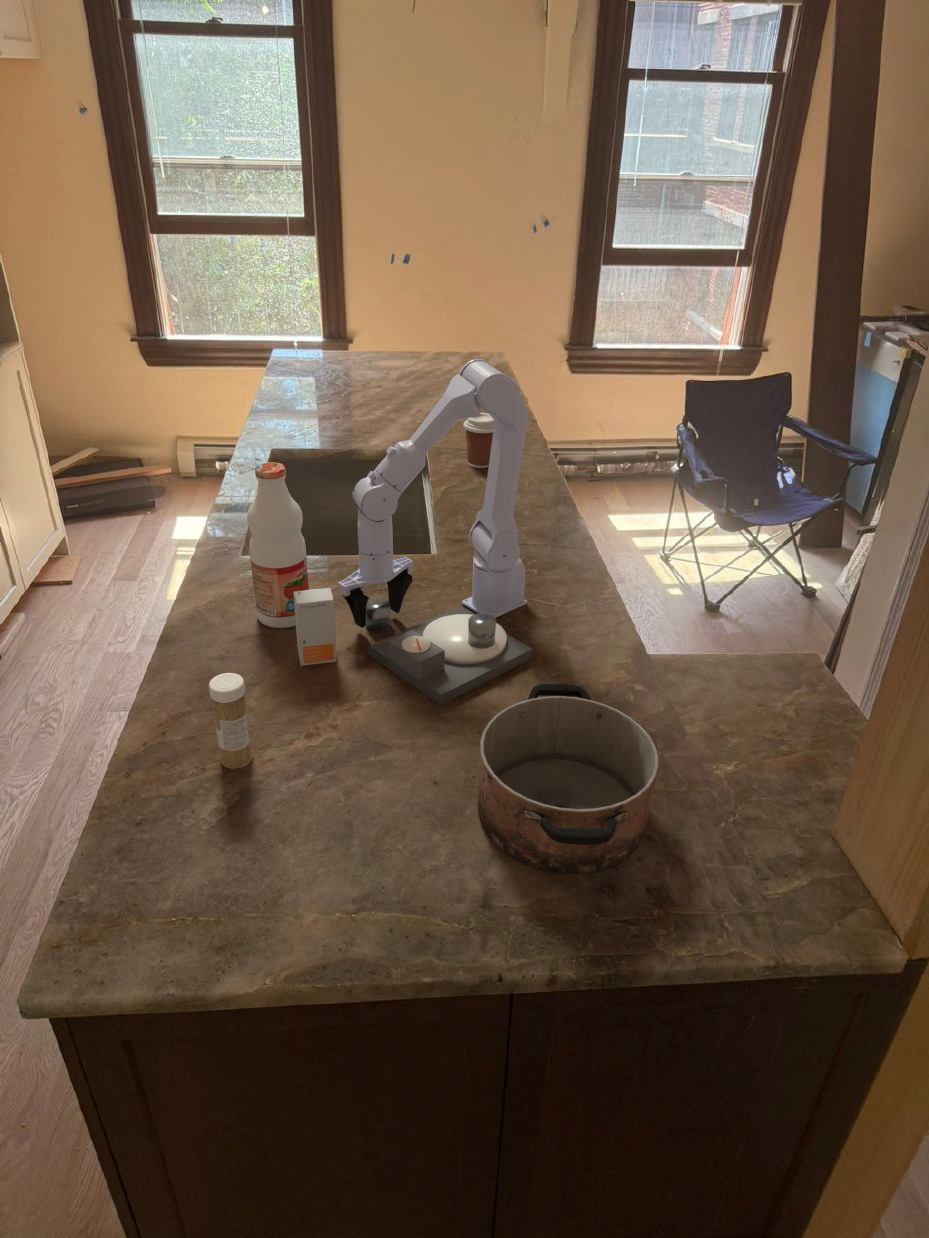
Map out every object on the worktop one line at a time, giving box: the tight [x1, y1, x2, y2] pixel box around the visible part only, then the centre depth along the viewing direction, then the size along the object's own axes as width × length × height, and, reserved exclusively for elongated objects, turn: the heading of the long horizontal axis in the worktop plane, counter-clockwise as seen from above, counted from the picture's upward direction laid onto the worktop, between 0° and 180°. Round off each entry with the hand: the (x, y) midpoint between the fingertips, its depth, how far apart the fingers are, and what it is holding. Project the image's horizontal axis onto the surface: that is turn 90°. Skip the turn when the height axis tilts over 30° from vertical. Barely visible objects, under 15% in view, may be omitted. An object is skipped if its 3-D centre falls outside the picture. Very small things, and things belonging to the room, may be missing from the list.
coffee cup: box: [462, 412, 495, 469], centre depth 218 cm, size 9×9×12 cm
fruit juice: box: [246, 461, 310, 629], centre depth 148 cm, size 9×9×28 cm
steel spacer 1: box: [365, 598, 392, 632], centre depth 153 cm, size 4×4×4 cm
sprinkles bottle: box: [208, 672, 254, 769], centre depth 119 cm, size 5×5×14 cm
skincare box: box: [293, 587, 337, 667], centre depth 142 cm, size 6×4×12 cm
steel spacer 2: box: [468, 613, 497, 649], centre depth 144 cm, size 4×4×4 cm
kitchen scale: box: [369, 606, 533, 706], centre depth 144 cm, size 20×18×6 cm
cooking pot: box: [477, 683, 659, 875], centre depth 113 cm, size 30×22×11 cm
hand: (377, 617), depth 153 cm, fingers open, 7 cm apart
